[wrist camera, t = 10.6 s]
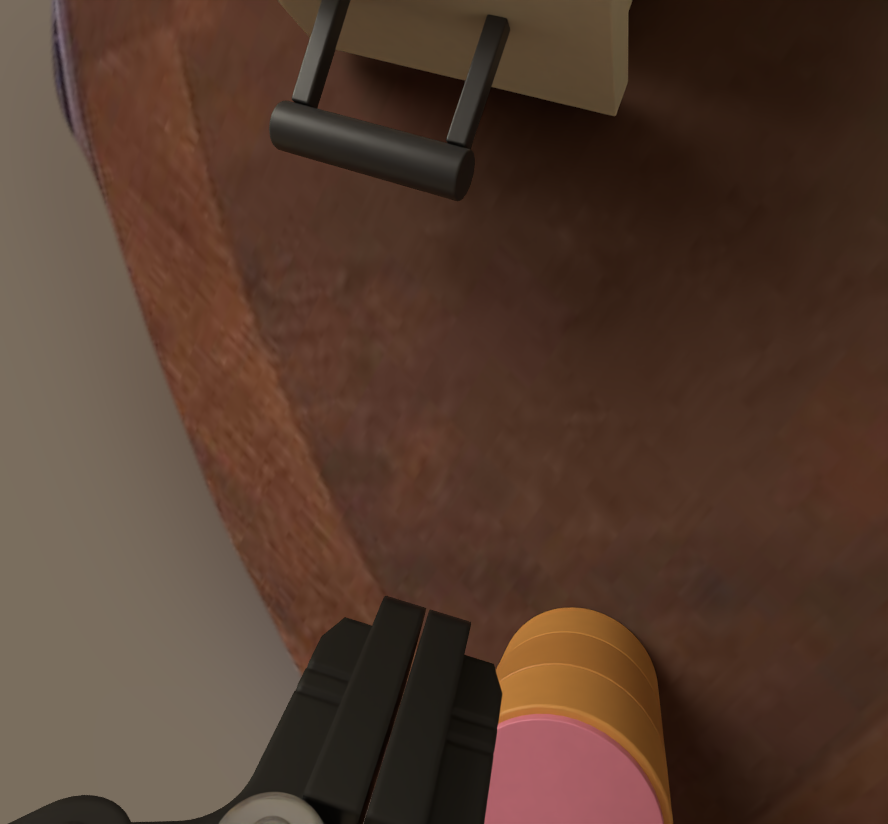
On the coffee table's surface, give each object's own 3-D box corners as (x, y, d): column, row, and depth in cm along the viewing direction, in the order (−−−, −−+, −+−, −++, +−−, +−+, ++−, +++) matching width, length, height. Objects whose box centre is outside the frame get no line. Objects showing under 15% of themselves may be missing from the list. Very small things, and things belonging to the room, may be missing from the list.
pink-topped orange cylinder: (480, 717, 24) (411, 868, 16) (531, 582, 24) (484, 671, 16) (625, 788, 23) (625, 988, 15) (682, 647, 22) (711, 779, 15)
